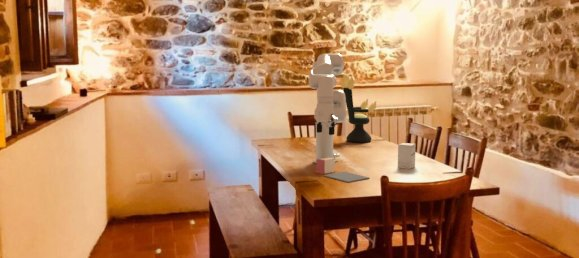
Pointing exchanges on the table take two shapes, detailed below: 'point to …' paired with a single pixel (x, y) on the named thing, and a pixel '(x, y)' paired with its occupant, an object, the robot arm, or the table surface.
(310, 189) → the table surface
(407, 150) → the supplement box
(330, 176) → the mat
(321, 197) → the table surface
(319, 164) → the card box
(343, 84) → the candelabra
